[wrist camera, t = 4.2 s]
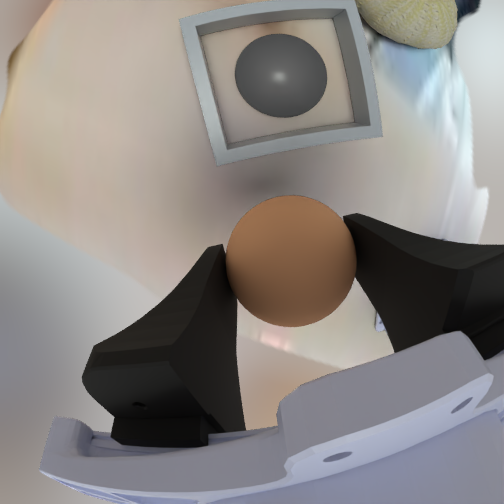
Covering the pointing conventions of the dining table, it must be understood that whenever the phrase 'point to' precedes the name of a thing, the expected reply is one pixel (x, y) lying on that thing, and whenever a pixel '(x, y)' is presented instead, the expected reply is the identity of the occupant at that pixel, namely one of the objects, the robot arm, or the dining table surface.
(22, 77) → the dining table surface
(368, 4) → the sea urchin shell
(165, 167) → the dining table surface
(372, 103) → the corral
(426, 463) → the robot arm
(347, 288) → the ball
